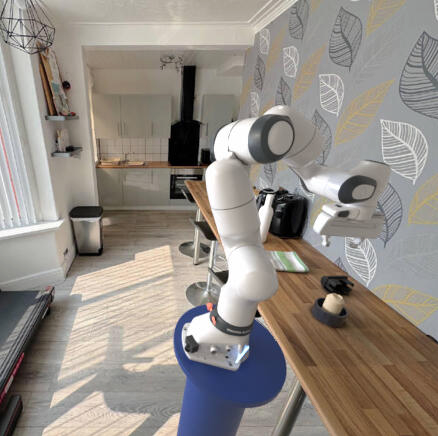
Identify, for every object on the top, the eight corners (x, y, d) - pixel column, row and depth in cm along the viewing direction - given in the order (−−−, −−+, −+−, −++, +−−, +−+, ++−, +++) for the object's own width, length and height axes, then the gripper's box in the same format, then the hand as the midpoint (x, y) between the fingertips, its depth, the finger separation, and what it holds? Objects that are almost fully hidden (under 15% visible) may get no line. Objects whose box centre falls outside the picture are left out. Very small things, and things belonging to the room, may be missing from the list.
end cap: (337, 284, 111) (342, 272, 109) (350, 294, 105) (356, 282, 102) (317, 284, 110) (322, 272, 108) (329, 295, 104) (335, 283, 101)
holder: (321, 326, 88) (326, 316, 86) (306, 306, 97) (310, 296, 95) (349, 328, 88) (355, 318, 86) (331, 307, 97) (335, 298, 95)
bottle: (256, 235, 154) (267, 192, 142) (267, 240, 149) (280, 195, 137) (249, 239, 150) (260, 194, 138) (261, 244, 144) (274, 198, 132)
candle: (324, 320, 90) (333, 300, 86) (316, 309, 95) (325, 290, 91) (339, 322, 89) (350, 302, 85) (331, 311, 94) (340, 291, 90)
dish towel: (309, 274, 118) (311, 268, 116) (262, 269, 119) (263, 264, 118) (293, 255, 133) (294, 250, 132) (251, 252, 135) (252, 246, 134)
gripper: (379, 209, 80) (361, 244, 85) (318, 204, 80) (304, 240, 86) (396, 216, 74) (376, 253, 80) (330, 211, 75) (315, 249, 80)
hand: (338, 246), depth 83 cm, fingers open, 8 cm apart
